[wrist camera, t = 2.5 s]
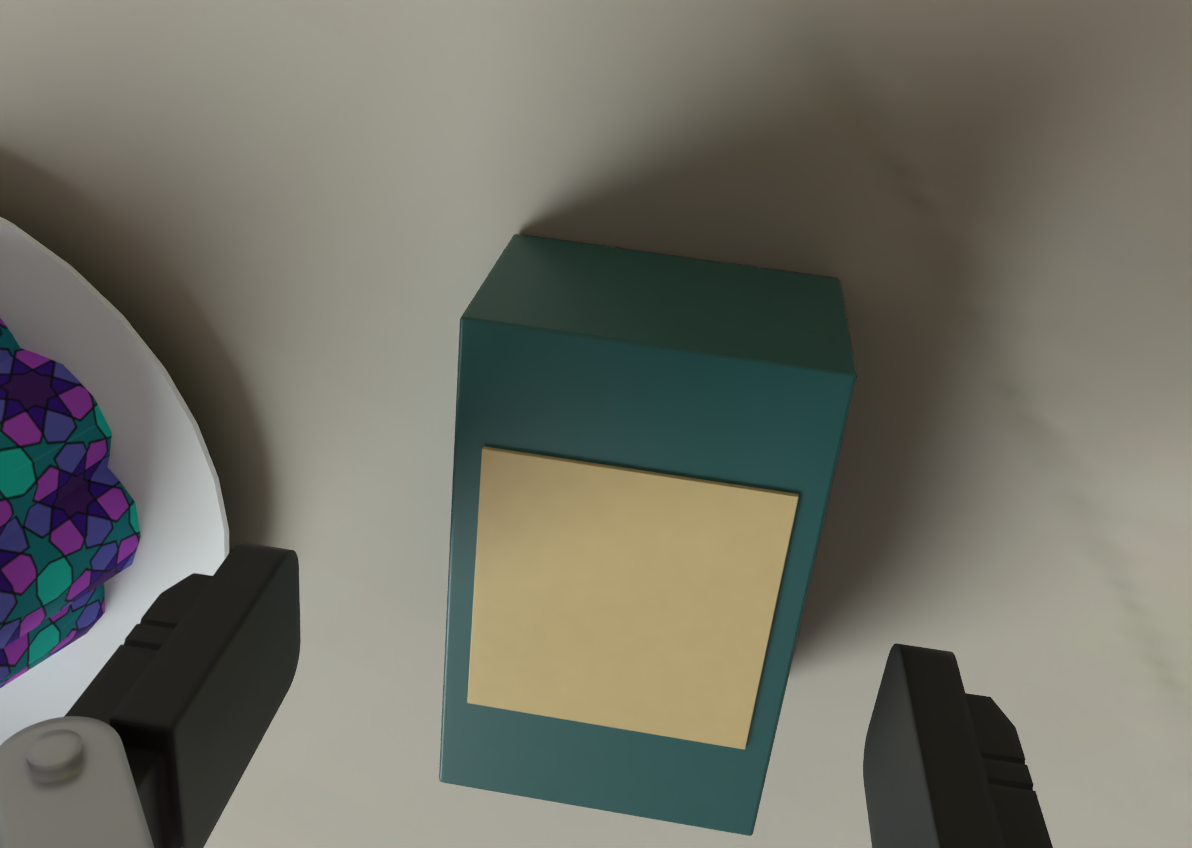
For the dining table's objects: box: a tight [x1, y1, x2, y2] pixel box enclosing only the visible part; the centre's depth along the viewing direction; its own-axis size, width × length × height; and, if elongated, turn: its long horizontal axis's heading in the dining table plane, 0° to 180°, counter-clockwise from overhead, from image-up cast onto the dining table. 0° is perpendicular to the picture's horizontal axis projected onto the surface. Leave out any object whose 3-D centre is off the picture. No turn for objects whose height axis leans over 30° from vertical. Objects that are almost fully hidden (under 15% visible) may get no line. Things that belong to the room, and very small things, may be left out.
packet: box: [439, 234, 857, 836], centre depth 17 cm, size 5×8×4 cm, turn 174°
